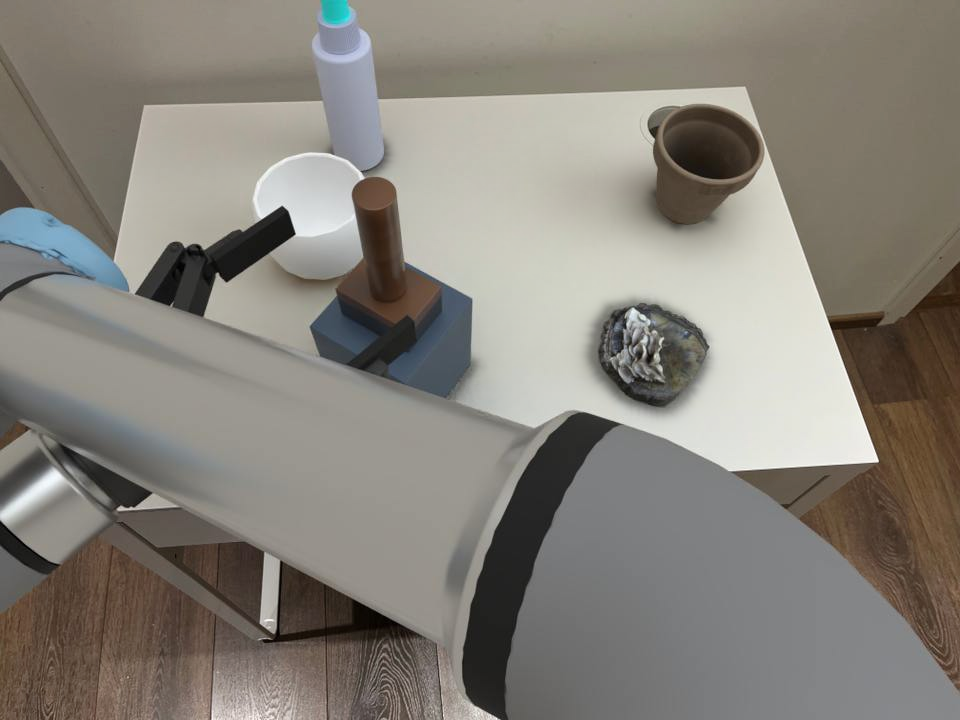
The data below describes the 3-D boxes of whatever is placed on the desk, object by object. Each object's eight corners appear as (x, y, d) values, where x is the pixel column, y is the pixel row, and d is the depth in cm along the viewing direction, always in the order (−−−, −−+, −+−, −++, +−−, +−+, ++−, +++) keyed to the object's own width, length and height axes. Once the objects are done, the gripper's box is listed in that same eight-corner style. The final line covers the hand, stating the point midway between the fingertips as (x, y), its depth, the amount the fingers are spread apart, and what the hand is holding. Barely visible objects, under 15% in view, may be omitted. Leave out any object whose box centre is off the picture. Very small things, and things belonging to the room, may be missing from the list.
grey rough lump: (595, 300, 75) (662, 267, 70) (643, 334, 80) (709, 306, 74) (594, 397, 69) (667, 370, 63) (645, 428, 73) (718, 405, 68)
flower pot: (740, 245, 79) (775, 183, 71) (640, 242, 79) (663, 179, 71) (725, 170, 85) (756, 104, 76) (632, 167, 85) (652, 100, 76)
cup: (404, 245, 78) (398, 184, 70) (330, 319, 73) (313, 263, 65) (322, 194, 82) (306, 130, 73) (245, 262, 77) (219, 201, 68)
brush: (442, 310, 60) (438, 191, 47) (408, 353, 58) (394, 240, 45) (376, 273, 62) (354, 149, 49) (341, 313, 59) (309, 194, 47)
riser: (470, 364, 71) (472, 298, 61) (414, 441, 67) (406, 384, 56) (391, 318, 73) (379, 247, 63) (331, 390, 69) (308, 326, 59)
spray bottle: (386, 137, 86) (365, -38, 67) (383, 173, 83) (360, 1, 64) (337, 136, 86) (302, -40, 67) (332, 172, 83) (294, 0, 64)
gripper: (16, 371, 50) (256, 212, 58) (223, 628, 42) (469, 403, 50) (-50, 315, 44) (230, 144, 52) (180, 606, 36) (471, 351, 44)
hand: (348, 271), depth 51 cm, fingers open, 13 cm apart
